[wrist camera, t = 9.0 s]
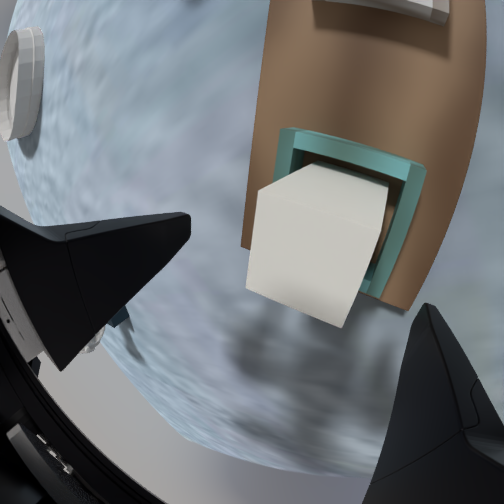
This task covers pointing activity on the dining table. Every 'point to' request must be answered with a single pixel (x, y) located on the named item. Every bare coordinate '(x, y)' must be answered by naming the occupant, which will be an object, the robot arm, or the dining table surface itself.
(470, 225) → the dining table surface
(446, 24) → the socket board
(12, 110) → the dish
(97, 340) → the watch
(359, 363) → the dining table surface
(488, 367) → the dining table surface
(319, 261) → the plug
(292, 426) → the dining table surface
